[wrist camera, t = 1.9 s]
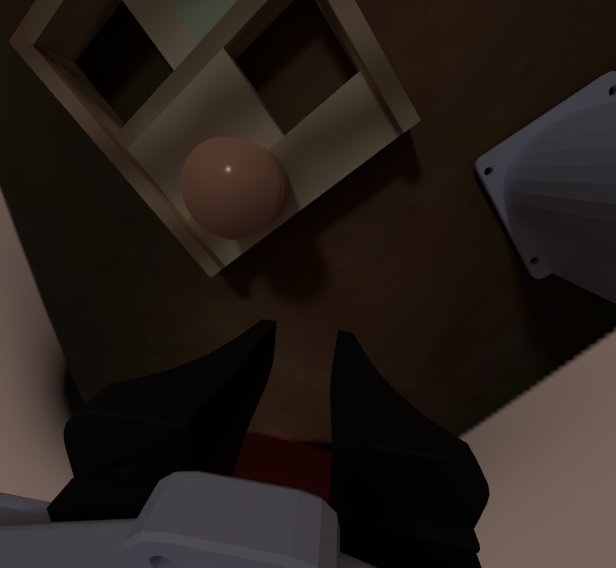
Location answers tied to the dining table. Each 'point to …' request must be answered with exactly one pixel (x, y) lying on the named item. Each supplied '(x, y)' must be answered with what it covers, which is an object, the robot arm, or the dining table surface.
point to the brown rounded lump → (233, 187)
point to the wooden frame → (216, 102)
